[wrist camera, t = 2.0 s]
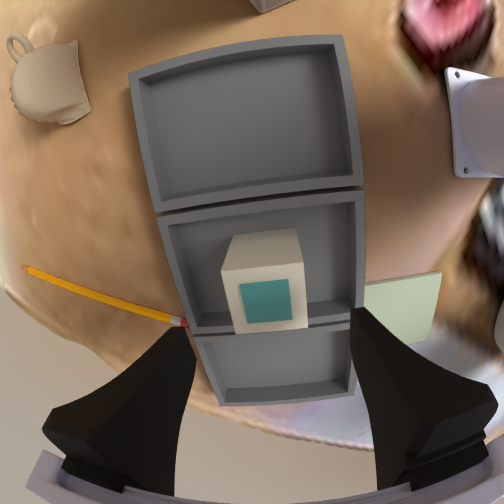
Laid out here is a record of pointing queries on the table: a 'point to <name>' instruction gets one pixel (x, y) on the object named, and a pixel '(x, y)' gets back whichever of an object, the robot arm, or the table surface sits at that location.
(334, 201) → the tray
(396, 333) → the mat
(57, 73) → the decorative ornament
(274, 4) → the coffee box
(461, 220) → the table surface
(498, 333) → the cylinder vase
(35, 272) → the pencil
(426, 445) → the robot arm
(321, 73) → the tray
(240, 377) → the tray
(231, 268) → the letter block
